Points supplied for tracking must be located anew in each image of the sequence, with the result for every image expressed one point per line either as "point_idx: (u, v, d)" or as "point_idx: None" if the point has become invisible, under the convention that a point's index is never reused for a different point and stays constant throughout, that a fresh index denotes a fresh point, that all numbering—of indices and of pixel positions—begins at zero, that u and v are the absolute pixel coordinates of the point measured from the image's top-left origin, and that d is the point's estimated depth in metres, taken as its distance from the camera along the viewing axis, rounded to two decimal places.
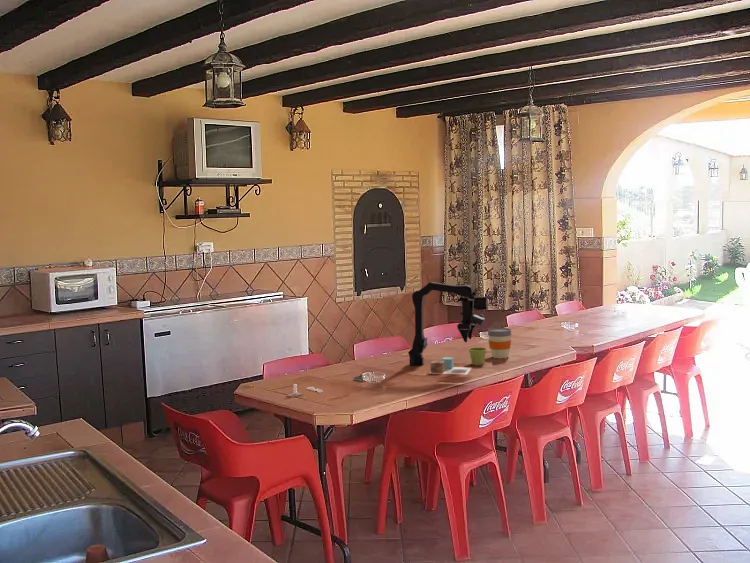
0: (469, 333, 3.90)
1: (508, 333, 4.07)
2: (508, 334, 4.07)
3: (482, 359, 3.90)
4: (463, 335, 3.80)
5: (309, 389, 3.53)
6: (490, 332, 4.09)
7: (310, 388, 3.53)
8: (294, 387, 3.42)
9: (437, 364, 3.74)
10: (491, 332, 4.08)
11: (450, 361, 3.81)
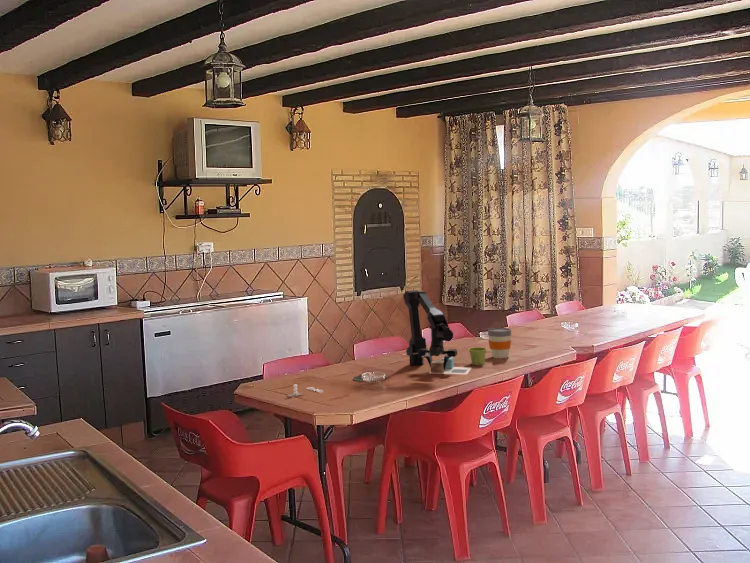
0: None
1: (508, 333, 4.07)
2: (508, 334, 4.07)
3: (482, 359, 3.90)
4: None
5: (309, 389, 3.53)
6: (490, 332, 4.09)
7: (310, 388, 3.52)
8: (294, 387, 3.42)
9: (437, 364, 3.74)
10: (491, 332, 4.08)
11: (450, 361, 3.81)
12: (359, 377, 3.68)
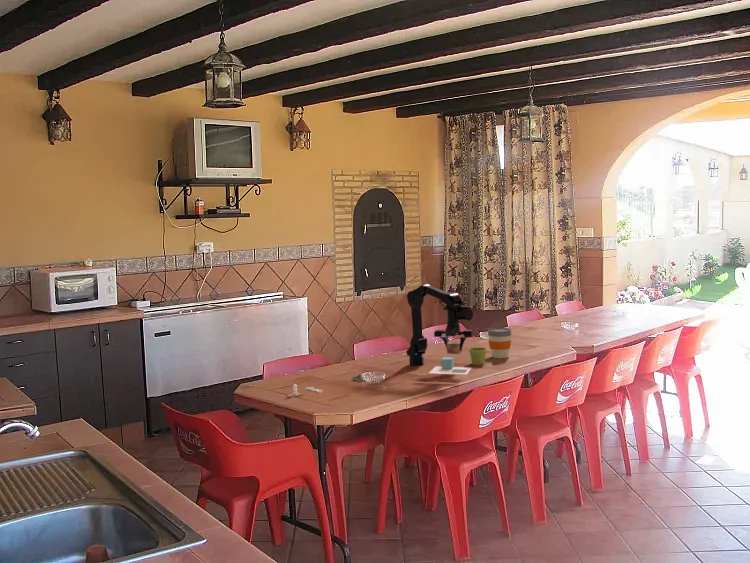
0: None
1: (508, 333, 4.07)
2: (508, 334, 4.07)
3: (482, 359, 3.90)
4: None
5: (308, 389, 3.53)
6: (490, 332, 4.09)
7: (309, 388, 3.52)
8: (294, 387, 3.42)
9: (453, 345, 3.72)
10: (491, 332, 4.08)
11: (450, 361, 3.81)
12: (358, 377, 3.68)
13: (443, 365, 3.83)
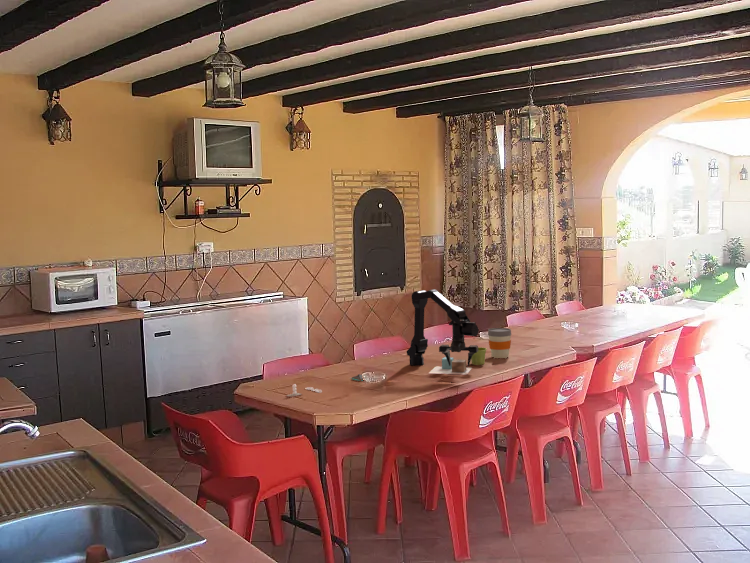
0: (468, 360, 3.75)
1: (508, 333, 4.07)
2: (508, 334, 4.07)
3: (482, 359, 3.90)
4: None
5: (308, 389, 3.53)
6: (490, 332, 4.09)
7: (309, 388, 3.52)
8: (293, 387, 3.42)
9: (458, 363, 3.74)
10: (491, 332, 4.08)
11: None
12: (357, 377, 3.68)
13: (443, 365, 3.83)
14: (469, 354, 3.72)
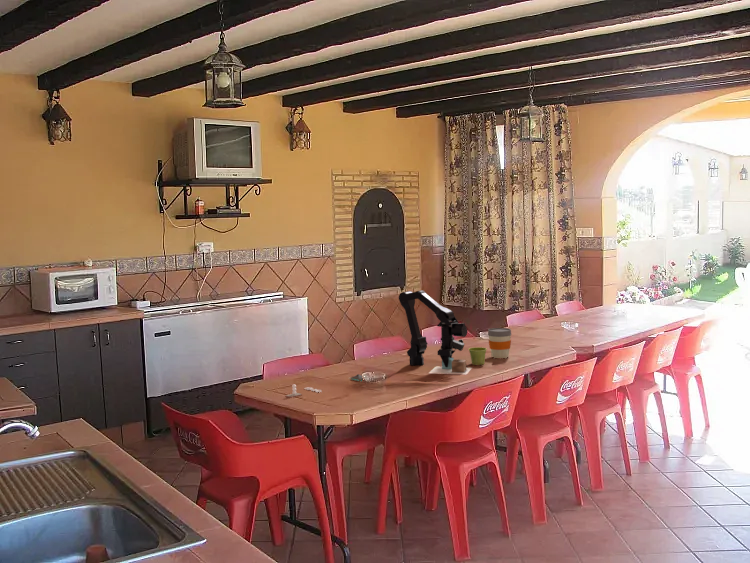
0: None
1: (508, 333, 4.07)
2: (508, 334, 4.07)
3: (482, 359, 3.90)
4: (444, 360, 3.81)
5: (307, 389, 3.53)
6: (490, 332, 4.09)
7: (308, 388, 3.52)
8: (293, 387, 3.42)
9: (458, 363, 3.74)
10: (491, 332, 4.08)
11: (450, 361, 3.81)
12: (357, 377, 3.69)
13: (443, 365, 3.83)
14: (453, 352, 3.87)
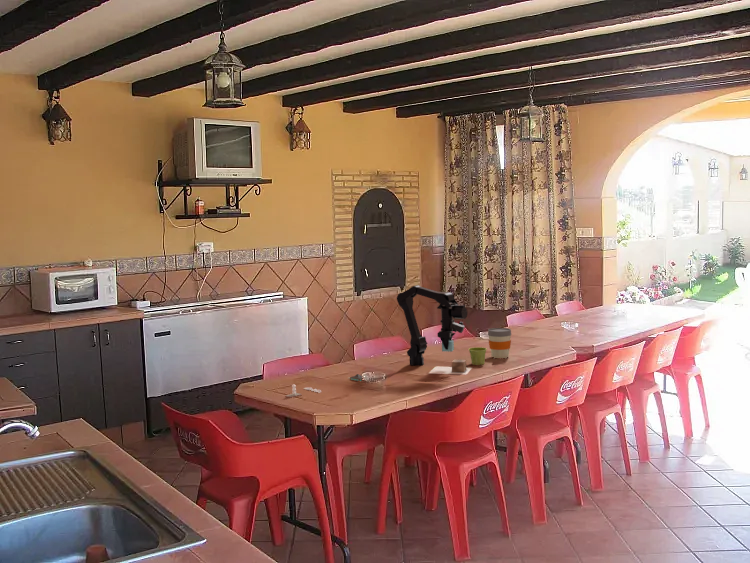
0: None
1: (508, 333, 4.07)
2: (508, 334, 4.07)
3: (482, 359, 3.90)
4: (444, 342, 3.80)
5: (307, 389, 3.53)
6: (490, 332, 4.09)
7: (308, 388, 3.52)
8: (293, 387, 3.42)
9: (458, 363, 3.74)
10: (491, 332, 4.08)
11: (450, 343, 3.80)
12: (356, 377, 3.69)
13: (443, 347, 3.82)
14: (453, 334, 3.86)
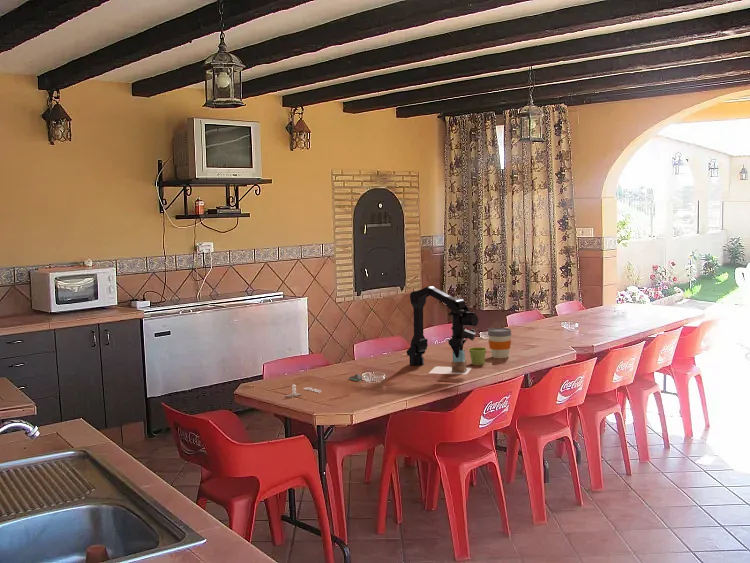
0: (459, 348, 3.80)
1: (508, 333, 4.07)
2: (508, 334, 4.07)
3: (482, 359, 3.90)
4: (455, 350, 3.72)
5: (306, 389, 3.53)
6: (490, 332, 4.09)
7: (308, 388, 3.52)
8: (293, 387, 3.42)
9: (458, 363, 3.74)
10: (491, 332, 4.08)
11: (461, 354, 3.73)
12: (355, 377, 3.69)
13: (454, 358, 3.74)
14: (465, 341, 3.80)
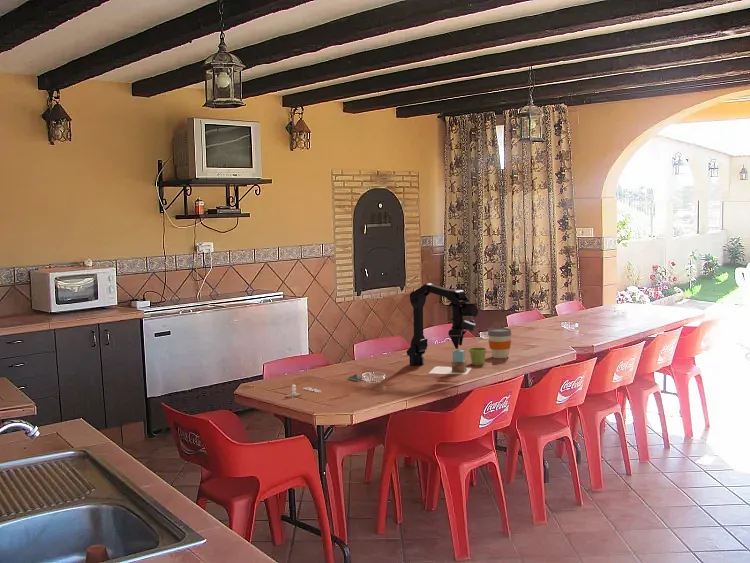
0: (459, 339, 3.80)
1: (508, 333, 4.07)
2: (508, 334, 4.07)
3: (482, 359, 3.90)
4: (454, 342, 3.70)
5: (306, 389, 3.53)
6: (490, 332, 4.09)
7: (307, 388, 3.52)
8: (293, 387, 3.41)
9: (458, 363, 3.74)
10: (491, 332, 4.08)
11: (461, 354, 3.73)
12: (355, 377, 3.69)
13: (454, 358, 3.74)
14: (465, 332, 3.80)
